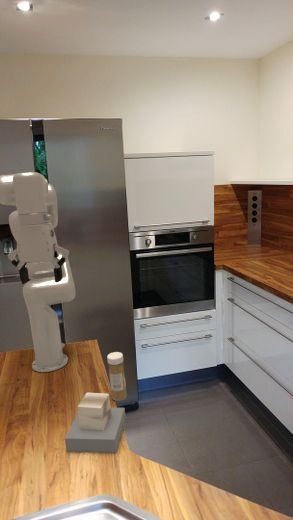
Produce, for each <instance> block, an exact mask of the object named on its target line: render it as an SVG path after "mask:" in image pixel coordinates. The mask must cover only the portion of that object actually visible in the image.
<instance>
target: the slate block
mask: <svg viewBox="0 0 293 520" xmlns="http://www.w3.org/2000/svg"><path fill="white" fill-rule="evenodd" d="M126 421H127V420H126V410H125V407H111V417H110V419H109V421H108V423H107V425H106V427H105V429H104V431H102V430H89V429H80V423H79V415H78V412H77V414H76V415H75V418H74V420H73V422H72V424H70V425H71V426H70V427H69V430H68V432H67V434H66V435H65V438H64V440H65V442H64V443H65V450H66V452H67V453H68V452H69V453H71V452H72V453H107V454H109V453H110V454H116V453H117V451H118V449H119V445H120V441H121V437H122V434H123V430H124V427H125V423H126Z"/></svg>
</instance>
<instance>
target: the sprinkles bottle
mask: <svg viewBox="0 0 293 520" xmlns="http://www.w3.org/2000/svg"><path fill="white" fill-rule="evenodd" d="M106 358H107V364H108V373H109V375H108V376H109V383H110V389H111V390H110V391H111V399H112V400H113V401H116V402H121V401H123V400H126V398H128V393H127V387H126V386H127V385H126V384H127V383H126V376H125V368H124V355H123V352H119V351H114V352H110V353H109V354H107V357H106Z"/></svg>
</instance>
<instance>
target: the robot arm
mask: <svg viewBox="0 0 293 520" xmlns="http://www.w3.org/2000/svg"><path fill="white" fill-rule="evenodd" d="M48 182H49V181H48V179H47V178H45V176H44V174H41V173H39V172H37V171H29V172H18V173H13V174H1V175H0V204H1V205H3V206H13V207H16V210H14V211H13V212H11V213H10V214H9V216H8V223H9V224H8V225H9V228H10V232H11V234H12V236H13V238H14V240H15V241H16V248H15V249H13V250H12V251H9V253H8V254H7V258H8V259H9V261H10V262H11V264H12V265H13V266H14V267H15V268H16V270H17V271H18V274H19V279H20V281H21V284H22V285H23V287H22V295H23V299H24V302H25V304H26V308H27V312H28V318H29V324H30V331H31V338H32V344H33V350H34V356H35V358H34V359H35V360H33V362H31V368H32V370H33V371H35V372H39V373H49V372H54V371H57V370H60V369H62V368H63V367H64V366H66V365H67V363H68V362H69V357H68V356H67V354H65V353H64V352H63V348H65V346H66V345H65V343H63V342H62V338H61V330H60V322H59V317H58V314H57V312H56V311H55V310H54V309H53V308H52V307H51V306H52V305H56V304H62V303H67V302H71V301H73V300H74V299H75V297H76V287H75V286H76V285H75V282H74V277H73V273H72V268H71V265H70V261H69V258H68V257H69V254H70V250H69V249H66V248H64V247H62V246H60V245H59V244H58V241H57V236H56V233H55V232H56V231H55V228H57V226H58V225H59V224H58V223H59V215H58V197H57V192H56V191H57V190H56V189H55V187H54V186H53V185H52V184H51V183H48ZM16 255H17V256H16ZM17 257H18V258H17Z"/></svg>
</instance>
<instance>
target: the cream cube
mask: <svg viewBox="0 0 293 520" xmlns="http://www.w3.org/2000/svg"><path fill="white" fill-rule="evenodd" d="M111 408H112V407H111V401H110V394H109V393H102V392H101V393H100V392H86V393H85V394H84V396H83V397H82V399H81V400H80V402H79V404H78V405H77V413H78V415H79V423H80V429H89V430H102V431H104V429H105V427H106V425H107V423H108V421H109V419H110V417H111Z"/></svg>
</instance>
